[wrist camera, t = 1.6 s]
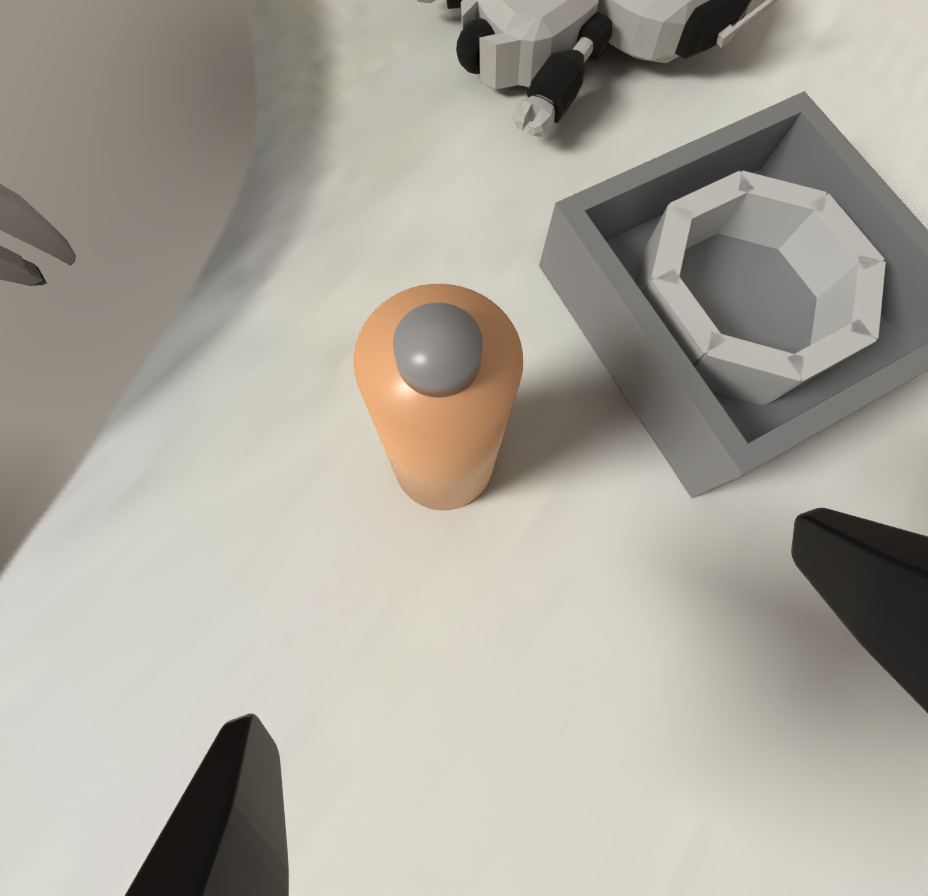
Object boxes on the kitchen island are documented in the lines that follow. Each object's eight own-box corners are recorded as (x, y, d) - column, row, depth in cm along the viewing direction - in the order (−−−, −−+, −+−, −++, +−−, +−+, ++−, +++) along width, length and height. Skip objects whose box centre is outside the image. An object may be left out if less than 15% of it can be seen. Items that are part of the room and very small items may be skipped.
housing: (919, 368, 24) (1009, 323, 20) (691, 498, 22) (743, 475, 18) (753, 166, 27) (804, 91, 23) (539, 265, 25) (555, 202, 21)
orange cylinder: (511, 480, 22) (561, 377, 12) (422, 528, 21) (397, 459, 11) (464, 397, 23) (473, 238, 13) (377, 441, 22) (317, 308, 12)
